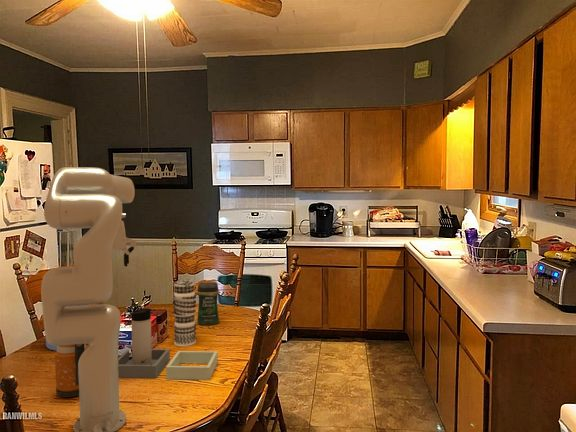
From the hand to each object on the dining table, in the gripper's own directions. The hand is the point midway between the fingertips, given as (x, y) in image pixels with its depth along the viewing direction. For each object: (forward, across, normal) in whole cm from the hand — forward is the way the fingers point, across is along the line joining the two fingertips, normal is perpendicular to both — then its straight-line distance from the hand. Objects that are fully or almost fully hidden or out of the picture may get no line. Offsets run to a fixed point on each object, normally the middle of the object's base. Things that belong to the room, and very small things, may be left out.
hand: (110, 267), depth 152 cm
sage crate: (+34, -23, +18) cm, 45 cm away
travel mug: (+34, -8, +8) cm, 36 cm away
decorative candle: (+34, -28, -10) cm, 46 cm away
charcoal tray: (+34, -8, +8) cm, 36 cm away
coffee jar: (+35, -44, -30) cm, 64 cm away
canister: (+34, +13, +17) cm, 41 cm away
